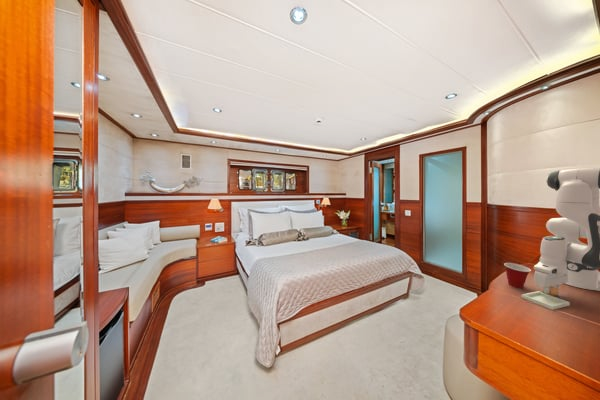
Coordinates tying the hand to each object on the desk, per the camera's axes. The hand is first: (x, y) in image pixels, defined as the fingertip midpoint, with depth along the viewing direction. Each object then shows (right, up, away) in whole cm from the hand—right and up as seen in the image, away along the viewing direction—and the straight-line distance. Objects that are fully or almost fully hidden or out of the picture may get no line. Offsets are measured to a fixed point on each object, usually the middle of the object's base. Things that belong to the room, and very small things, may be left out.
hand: (551, 292), depth 106 cm
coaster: (0, -2, 0) cm, 2 cm away
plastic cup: (-7, -2, +11) cm, 13 cm away
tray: (-10, -2, -6) cm, 12 cm away
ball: (0, -2, 0) cm, 2 cm away
